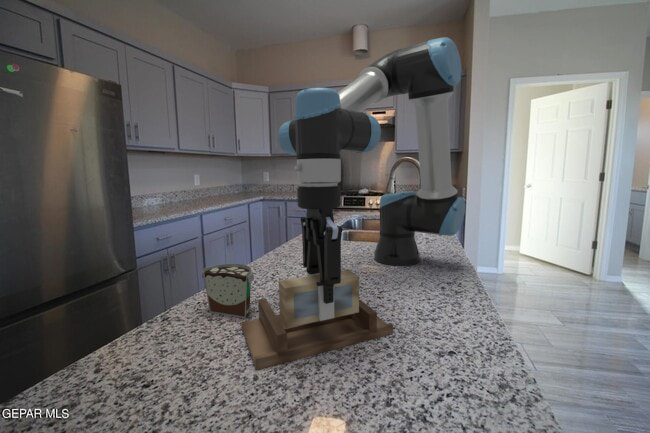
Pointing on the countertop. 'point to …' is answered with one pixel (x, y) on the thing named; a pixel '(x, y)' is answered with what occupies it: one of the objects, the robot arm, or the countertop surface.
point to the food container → (228, 289)
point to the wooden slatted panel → (308, 334)
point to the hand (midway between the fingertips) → (321, 312)
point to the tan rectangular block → (316, 298)
